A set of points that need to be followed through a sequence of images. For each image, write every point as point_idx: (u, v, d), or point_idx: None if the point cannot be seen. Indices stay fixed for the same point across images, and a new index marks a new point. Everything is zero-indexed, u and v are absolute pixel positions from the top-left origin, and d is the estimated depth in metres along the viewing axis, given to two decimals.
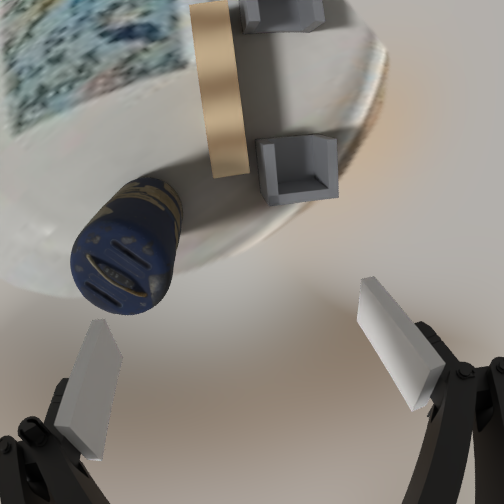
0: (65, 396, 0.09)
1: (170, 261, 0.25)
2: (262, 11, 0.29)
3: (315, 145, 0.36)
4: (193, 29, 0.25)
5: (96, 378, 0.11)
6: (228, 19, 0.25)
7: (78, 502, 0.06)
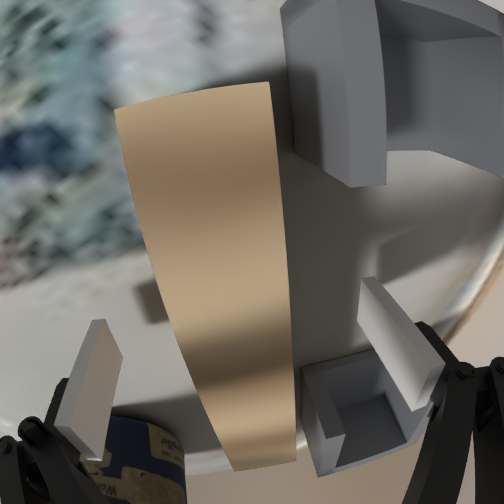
0: (65, 396, 0.09)
1: None
2: None
3: None
4: (143, 220, 0.08)
5: (96, 378, 0.11)
6: (273, 174, 0.08)
7: (78, 502, 0.06)
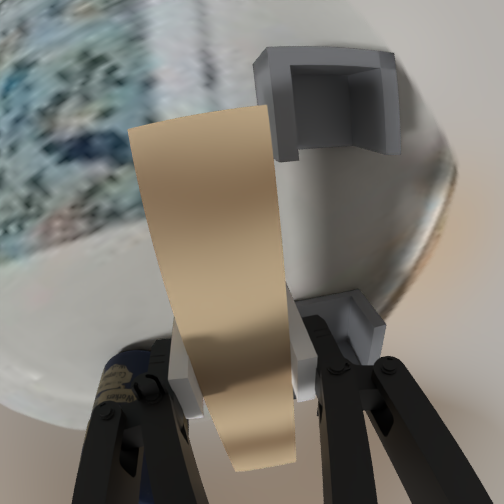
0: (173, 352, 0.12)
1: None
2: (294, 111, 0.21)
3: (354, 311, 0.28)
4: (153, 230, 0.09)
5: None
6: (271, 188, 0.09)
7: (173, 470, 0.07)
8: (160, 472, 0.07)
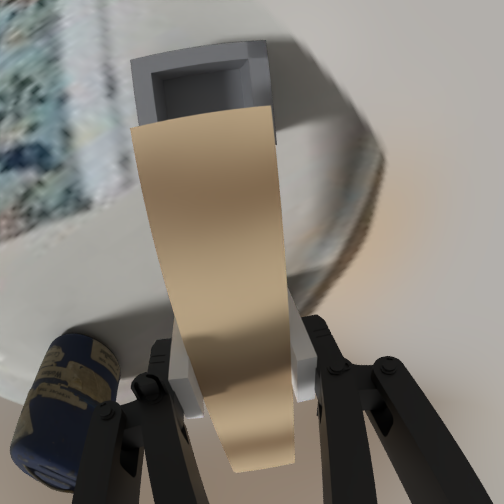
0: (173, 352, 0.12)
1: None
2: (185, 111, 0.22)
3: None
4: (155, 230, 0.09)
5: None
6: (274, 189, 0.09)
7: (173, 470, 0.07)
8: (160, 472, 0.07)
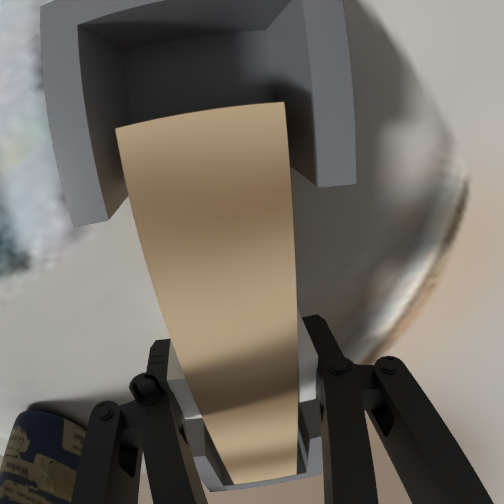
0: (172, 352, 0.12)
1: None
2: (163, 106, 0.11)
3: None
4: (146, 247, 0.08)
5: None
6: (285, 201, 0.08)
7: (172, 471, 0.07)
8: (159, 472, 0.07)
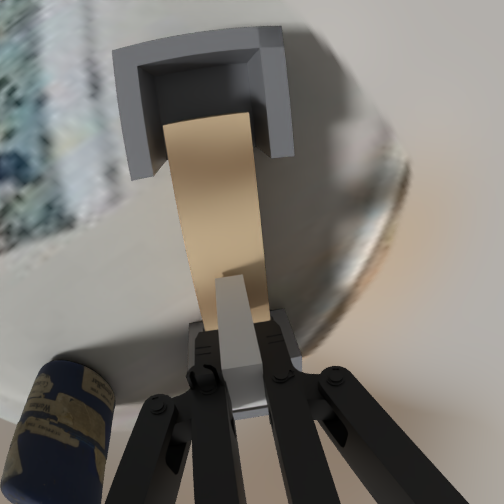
0: (222, 342, 0.12)
1: None
2: (181, 113, 0.18)
3: None
4: (176, 189, 0.14)
5: None
6: (251, 164, 0.14)
7: (219, 464, 0.07)
8: (205, 465, 0.07)
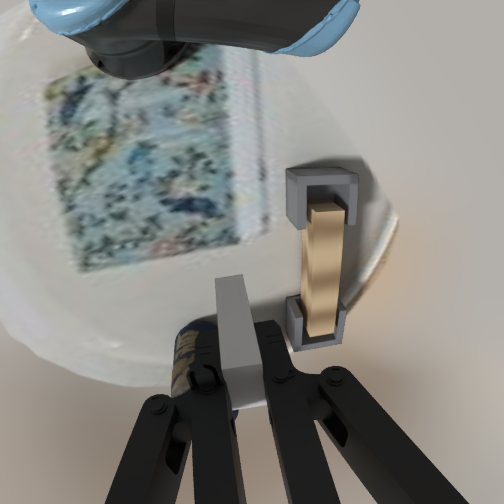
0: (222, 342, 0.12)
1: None
2: None
3: None
4: (316, 235, 0.40)
5: None
6: (342, 228, 0.40)
7: (219, 464, 0.07)
8: (205, 465, 0.07)
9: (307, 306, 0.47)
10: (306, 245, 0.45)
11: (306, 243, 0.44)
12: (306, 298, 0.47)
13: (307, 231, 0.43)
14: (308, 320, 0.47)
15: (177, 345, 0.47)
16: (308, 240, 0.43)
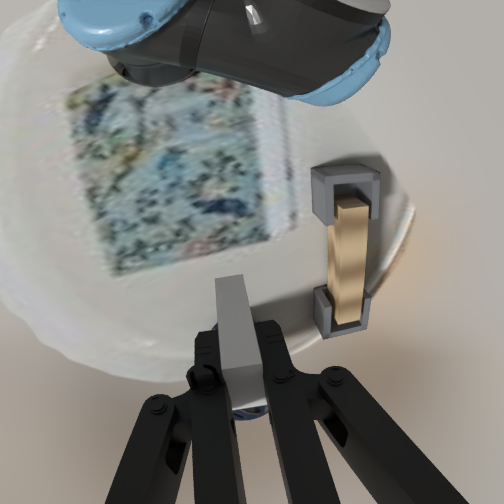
0: (222, 342, 0.12)
1: None
2: None
3: None
4: (343, 230, 0.42)
5: None
6: (367, 222, 0.42)
7: (219, 465, 0.07)
8: (205, 465, 0.07)
9: (335, 296, 0.49)
10: (332, 238, 0.47)
11: (332, 237, 0.47)
12: (333, 288, 0.49)
13: (333, 225, 0.45)
14: (336, 309, 0.49)
15: None
16: (335, 234, 0.45)
